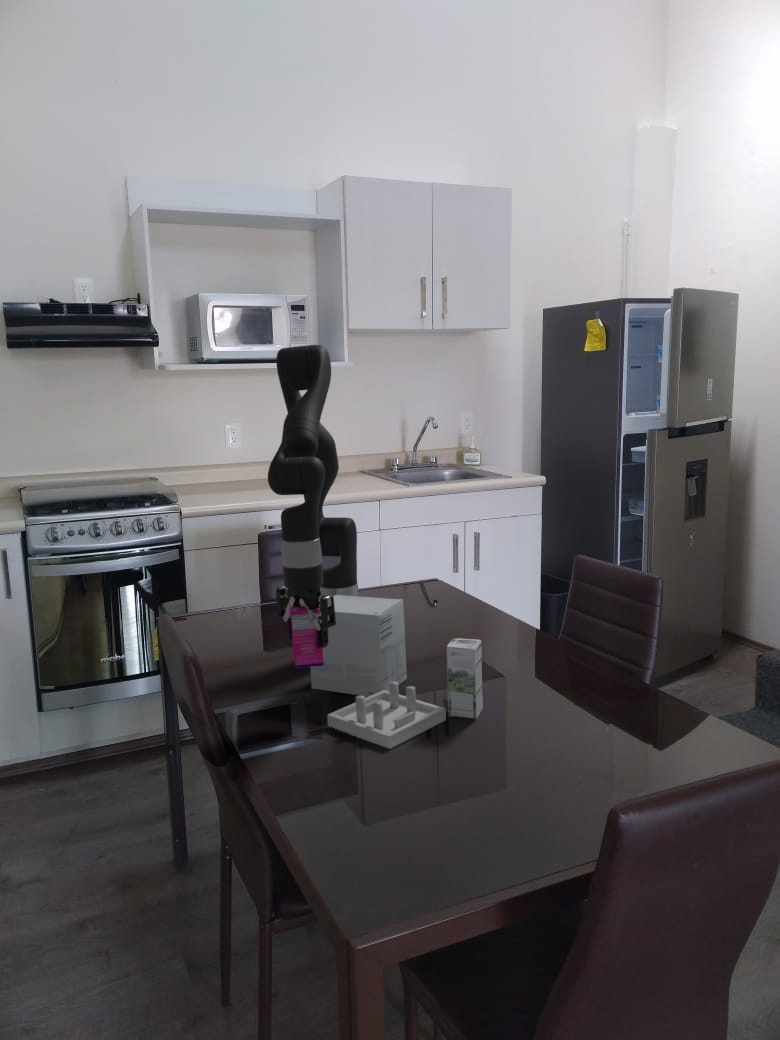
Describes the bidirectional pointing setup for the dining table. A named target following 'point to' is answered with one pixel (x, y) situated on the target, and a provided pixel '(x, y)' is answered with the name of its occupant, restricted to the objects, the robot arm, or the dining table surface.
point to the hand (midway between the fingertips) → (307, 643)
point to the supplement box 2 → (363, 647)
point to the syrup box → (464, 678)
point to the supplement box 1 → (305, 639)
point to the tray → (387, 717)
